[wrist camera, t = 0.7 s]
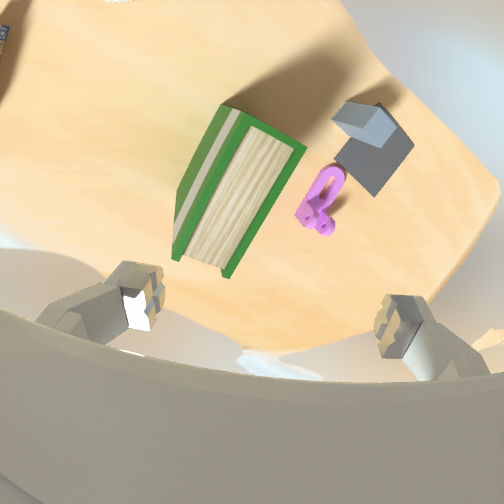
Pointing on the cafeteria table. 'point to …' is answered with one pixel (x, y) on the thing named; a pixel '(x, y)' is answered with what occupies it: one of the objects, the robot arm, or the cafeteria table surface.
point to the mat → (375, 158)
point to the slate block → (364, 123)
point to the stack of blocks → (3, 36)
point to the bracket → (321, 201)
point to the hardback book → (231, 188)
